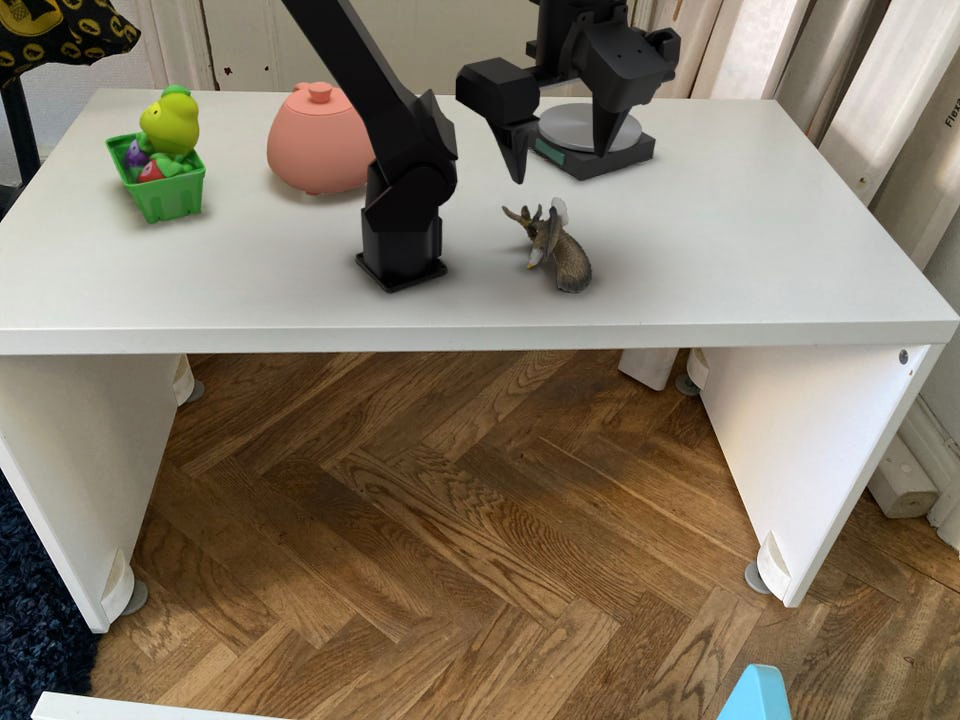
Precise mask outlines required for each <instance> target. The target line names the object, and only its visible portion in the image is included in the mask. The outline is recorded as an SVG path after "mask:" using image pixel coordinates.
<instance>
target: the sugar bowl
mask: <svg viewBox="0 0 960 720" xmlns="http://www.w3.org/2000/svg"><path fill="white" fill-rule="evenodd" d="M375 158H376V157H375V154H374V151H373V148H372V145H371V142H370V139H369V136H368V133H367V130H366V128H365V125H364V123H363V121H362V119H361V117H360V116H359V114H358V113H357V111H356V110H355V108H354V107H353V105H352V104H351V103H350V101H349V100H348V98H347V97H346V95H345V94H344V92H343V91H342V89H341V88H340V87H334V86H333V85H332V84H331V83H329V82H325V81H314V82H311V83H309V82H307V81H306V82H299V83H297V84H295V85H294V86H293V89H292V93H290V94H289V95H288V96H287V97H286V98H285V99H284V101H283V103H282V104H281V105H280V107H279V108H278V111H277V113H276V114H275V117H274V119H273V121H272V124H271V126H270V129H269V132H268V136H267V143H266V161H267V164H268V166H269V168H270V171H272V173H273V174H274V175H275V176H276V177H277V178H279V179H280V180H281V181H282V182H283V183H285V184H286V185H288V186H289V187H291V188H293V189H295V190H298V191H301V192H304V193H305V195H307V196H310V197H316V196H320V195H323V194H335V193H336V194H338V193H343V192H344V193H345V192H347V191H351V190H354V189H357V188H360V187H363V186H366V181H367V167H368V165H369V164H370V163H371V162H372V161H373V160H374V159H375Z"/></svg>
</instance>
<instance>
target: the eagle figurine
mask: <svg viewBox="0 0 960 720" xmlns="http://www.w3.org/2000/svg"><path fill="white" fill-rule="evenodd" d="M550 204H551V205H550V207H549V209H548V215H549V217H548V219H546V220H545V219H543V218H542V219H541V217H542V216H543V205H542V204H541V203H538V207H537V211H536V213H535V214H534V215H533V217H531V212H530V209H529V207H528V205H525V204H524V205H523V206H522V207H521V211H520V215H519V214H517V213H515V212H513V211H511V210H510V209H509V208H508V207H507V206H505V205H502V206H501V210H502V211H503V213H504V214H505V216H506V217H507V218H509V219H511V220H512V221H515V222H517V223H518V224H519V225H521V226H522V227H523V229H524V230H525V231H526V234H527V237H528V239H529V240H530V241H531V242H532V244H533V245H532V249H531V253H530V256H529V258H528V259H529V261H528V264H527V265H526V266H525V269H528V270H529V269H530V268H532V267H534V266H536V265H538V263H539V262H540V260H541V258H542V257H543V260H542V261H543V263H544V264H546V262H547V261H548V258H549V254H552V255H553V257H554V261H555V264H556V271H557V272H556V286H557V288H558V289H562V290H563V291H564V292H570V293H572V294H574V293H580V292H581V291H582V289H583V290H584V289H586V287H587V285H588V284H590V281H591V280H592V279H593V278H592V277H593V269H592V263H591V262H590V259H589V256H588V255H587V253H586V251H585V250H584V248H583V246H581V244H580V243H579V242H578V241H577V240H576V239H575V237H573V236H572V235H570V233H569V232H567V231H566V230H565V229H564V227H566V226H567V225H569V221H570V218H569V213H568V207H567V204H566V201H564V200H563V199H562V198H561V197H558V196H555V197H553V198H552V199H551V203H550ZM543 255H544V256H543Z"/></svg>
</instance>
